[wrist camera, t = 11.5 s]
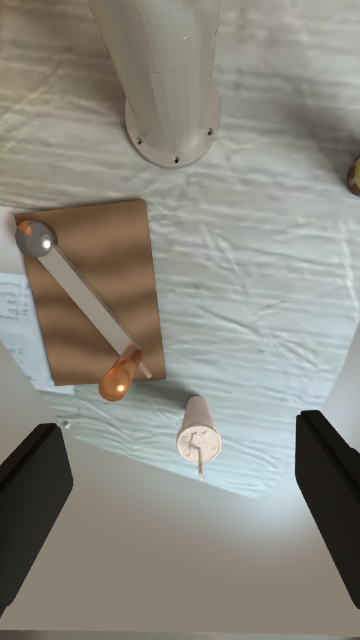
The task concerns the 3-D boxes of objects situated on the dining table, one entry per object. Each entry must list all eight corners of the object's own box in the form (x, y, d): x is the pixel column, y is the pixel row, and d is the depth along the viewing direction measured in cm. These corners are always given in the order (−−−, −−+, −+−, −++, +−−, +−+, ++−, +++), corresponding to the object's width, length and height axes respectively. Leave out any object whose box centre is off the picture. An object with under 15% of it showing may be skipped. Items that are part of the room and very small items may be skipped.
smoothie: (185, 424, 44) (183, 497, 31) (174, 394, 43) (166, 456, 29) (219, 415, 43) (232, 486, 30) (209, 384, 42) (217, 444, 28)
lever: (18, 236, 36) (-62, 226, 25) (41, 214, 35) (-31, 193, 24) (129, 368, 40) (105, 410, 29) (152, 351, 39) (136, 388, 28)
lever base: (19, 216, 37) (13, 214, 36) (145, 201, 35) (144, 199, 34) (58, 382, 43) (54, 386, 42) (166, 375, 42) (165, 379, 41)
